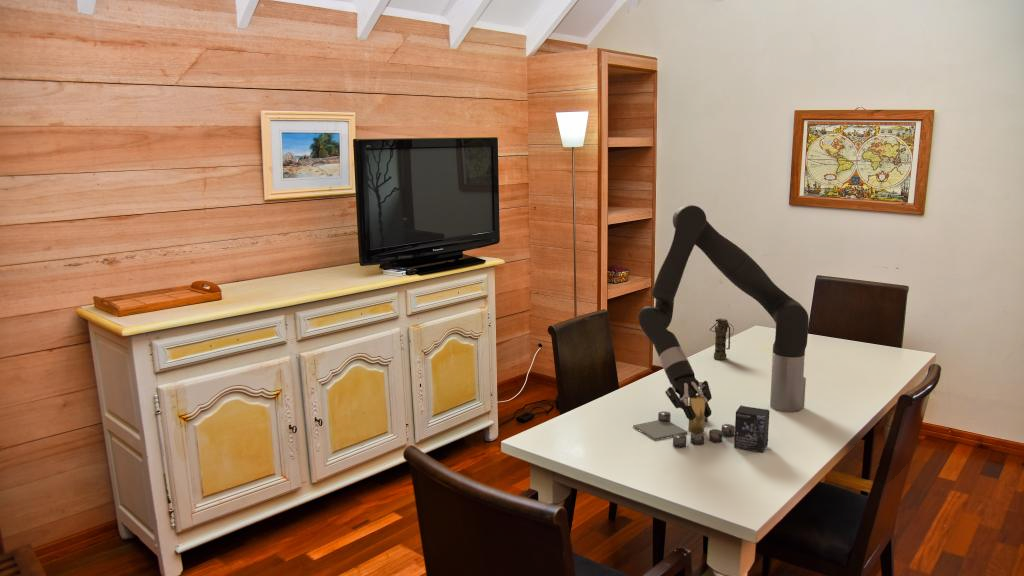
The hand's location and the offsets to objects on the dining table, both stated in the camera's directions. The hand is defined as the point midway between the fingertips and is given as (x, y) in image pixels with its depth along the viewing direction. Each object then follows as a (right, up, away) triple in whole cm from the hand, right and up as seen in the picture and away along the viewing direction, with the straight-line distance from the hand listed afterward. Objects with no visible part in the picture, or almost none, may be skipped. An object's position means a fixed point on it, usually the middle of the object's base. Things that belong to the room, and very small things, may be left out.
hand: (700, 417), depth 220 cm
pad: (-11, -4, +3) cm, 12 cm away
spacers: (-3, -4, +3) cm, 6 cm away
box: (+11, -7, -9) cm, 16 cm away
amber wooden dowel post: (-1, -4, +3) cm, 5 cm away
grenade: (+25, +10, +69) cm, 74 cm away
